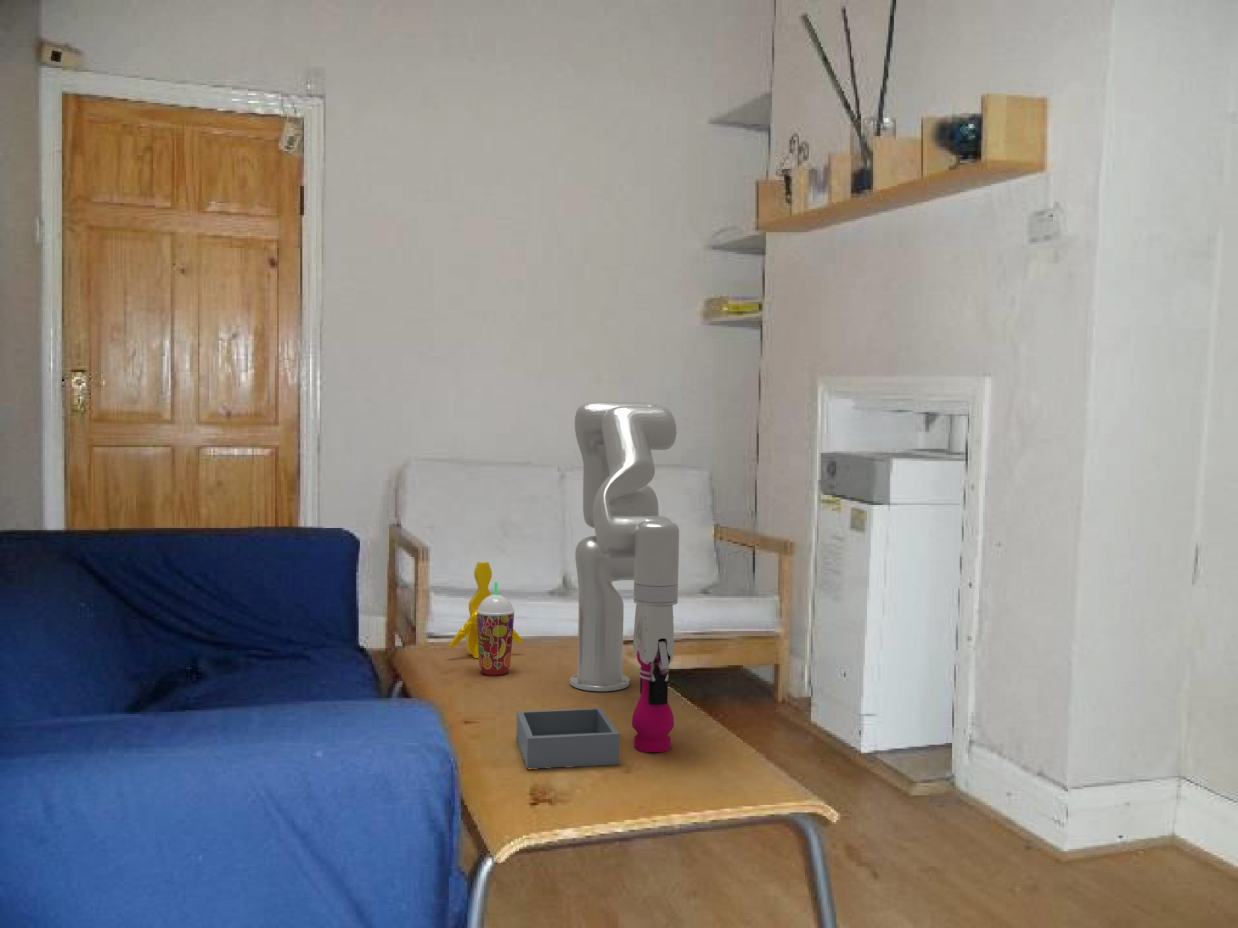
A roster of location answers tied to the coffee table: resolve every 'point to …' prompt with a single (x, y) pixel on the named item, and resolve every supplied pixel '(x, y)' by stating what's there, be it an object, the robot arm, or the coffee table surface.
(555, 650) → the coffee table surface
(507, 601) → the smoothie
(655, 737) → the pepper mill
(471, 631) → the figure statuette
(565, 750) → the bin
